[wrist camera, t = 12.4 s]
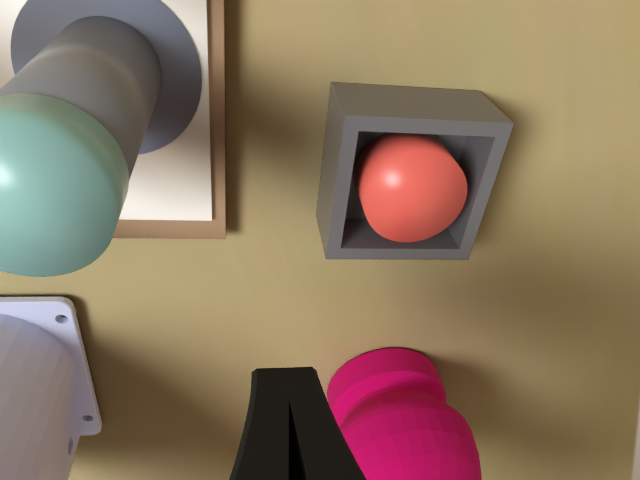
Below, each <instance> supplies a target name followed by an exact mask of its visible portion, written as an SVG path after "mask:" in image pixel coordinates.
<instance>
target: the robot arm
mask: <svg viewBox="0 0 640 480" xmlns="http://www.w3.org/2000/svg"><path fill="white" fill-rule="evenodd" d="M60 315H64V316H66V317H61V316H60ZM101 428H102V420H101V416H100V412H99V408H98V404H97V399H96V395H95V391H94V387H93V383H92V378H91V374H90V370H89V366H88V362H87V357H86V353H85V349H84V345H83V341H82V336H81V332H80V328H79V324H78V320H77V315H76V311H75V307H74V304H73V302H72V301H71V300H70V299H68V298H65V297H0V480H68V478H69V474H70V471H71V467H72V464H73V460H74V457H75V453H76V449H77V446H78V442H79V439H80V436H84V435H96V434H98V433H99V432H100V431H101ZM229 480H367V479H366V478H365V476H364V474H363V472H362V471H361V469H360V467H359V465H358V463H357V462H356V460H355V458H354V456H353V454H352V452H351V450H350V448H349V446H348V444H347V442H346V440H345V438H344V436H343V434H342V432H341V430H340V428H339V426H338V424H337V422H336V420H335V417H334V415H333V413H332V411H331V409H330V406H329V404H328V402H327V399H326V397H325V394H324V392H323V389H322V386H321V384H320V381H319V378H318V375H317V371H316V370H315V369H314V368H313V367H295V368H262V369H256V370H255V371H253V372H252V382H251V395H250V402H249V408H248V413H247V417H246V422H245V427H244V431H243V434H242V438H241V442H240V446H239V449H238V453H237V457H236V460H235V464H234V467H233V470H232V473H231V476H230V479H229Z"/></svg>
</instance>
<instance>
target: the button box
mask: <svg viewBox="0 0 640 480" xmlns="http://www.w3.org/2000/svg"><path fill="white" fill-rule="evenodd" d="M513 126H514V123H513V122H512V121H511V120H510V119H509V118H508V117H507V116H506V115H505V114H504V113H503V112H502V111H501V110H500V109H499V108H498V107H496V106H495V105H494V104H493V103H492V102H491V101H490V100H489V99H488V98H487V97H486V96H485V95H484V94H483V93H482V92H481V91H476V90H458V89H441V88H424V87H407V86H390V85H373V84H356V83H339V82H331V89H330V98H329V106H328V115H327V124H326V133H325V142H324V150H323V159H322V168H321V177H320V186H319V194H318V203H317V212H316V217H317V221H318V226H319V230H320V235H321V240H322V244H323V249H324V254H325V258H326V259H421V260H468V259H469V256H470V253H471V250H472V247H473V244H474V241H475V238H476V235H477V232H478V229H479V226H480V223H481V221H482V218H483V215H484V212H485V209H486V206H487V203H488V200H489V197H490V194H491V191H492V188H493V185H494V182H495V179H496V176H497V173H498V170H499V167H500V164H501V161H502V158H503V155H504V152H505V149H506V146H507V143H508V140H509V137H510V134H511V132H512V129H513ZM385 132H392V133H415V134H434V135H435V136H437V137H438V138H439V139H440V141H441V142H442V143H443V144H444V146H445V147H446V148H447V150H448V151H449V153H450V154H451V155H452V157H453V158H454V160H455V161H456V162H457V164H458V165H459V166H460V168H461V169H462V171H463V173H464V175H465V177H466V181H467V197H466V201H465V204H464V206H463V208H462V210H461V212H460V214H459V215H458V216H457V218H456V219H455V220H454V221H453V222H452V223H451V224H450V225H449V226H448V227H447V228H446V229H444V230H443V231H441V232H440V233H438V234H436V235H434V236H432V237H430V238H427V239H425V240H421V241H416V242H397V241H392V240H389V239H387V238H384V237H382V236H381V235H379V234H378V233H377V232H376V231H375V230H374V229H373V228H372V227H371V226H370V224H369V222H368V221H367V218H366V215H365V213H364V210H363V207H362V204H361V201H360V199H359V196H358V193H357V190H356V187H355V183H354V170H355V165H356V163H357V160H358V158H359V156H360V154H361V152H362V151H363V150H364V148H365V147H366V146H367V145H368V144H369V143H370V142H371V141H372V140H373V139H375V138H376V137H378V136H379V135H381V134H383V133H385Z"/></svg>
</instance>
